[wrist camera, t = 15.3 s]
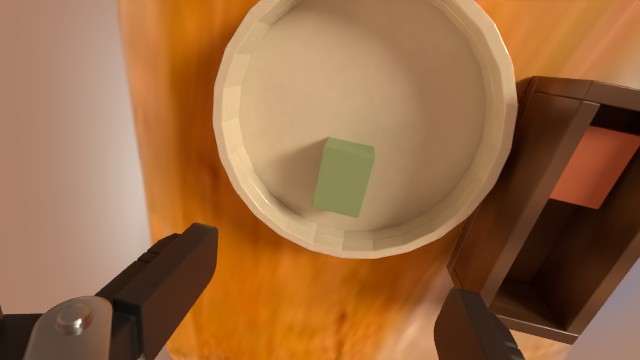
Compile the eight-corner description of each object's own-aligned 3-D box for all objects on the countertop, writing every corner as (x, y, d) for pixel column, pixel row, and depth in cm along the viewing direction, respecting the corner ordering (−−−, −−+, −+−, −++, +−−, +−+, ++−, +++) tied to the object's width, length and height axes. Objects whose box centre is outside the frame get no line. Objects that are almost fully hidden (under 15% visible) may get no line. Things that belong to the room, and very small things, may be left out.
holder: (531, 75, 16) (593, 80, 12) (645, 98, 16) (751, 111, 12) (446, 266, 22) (466, 319, 17) (529, 287, 21) (572, 345, 17)
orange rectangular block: (551, 114, 16) (580, 123, 14) (607, 126, 16) (645, 136, 14) (519, 180, 18) (540, 196, 16) (569, 191, 18) (598, 209, 15)
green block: (328, 136, 19) (323, 146, 17) (374, 146, 19) (375, 158, 16) (317, 191, 20) (311, 207, 18) (359, 201, 20) (358, 218, 18)
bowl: (245, -51, 16) (220, -74, 13) (544, 5, 15) (584, -7, 12) (226, 205, 22) (207, 225, 20) (437, 256, 22) (448, 285, 19)
